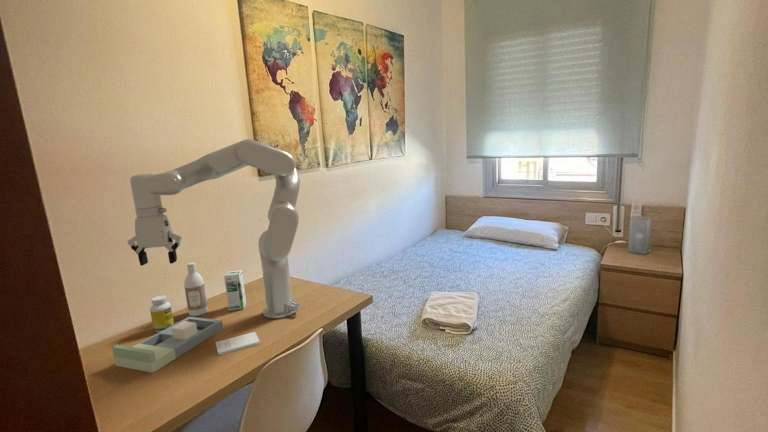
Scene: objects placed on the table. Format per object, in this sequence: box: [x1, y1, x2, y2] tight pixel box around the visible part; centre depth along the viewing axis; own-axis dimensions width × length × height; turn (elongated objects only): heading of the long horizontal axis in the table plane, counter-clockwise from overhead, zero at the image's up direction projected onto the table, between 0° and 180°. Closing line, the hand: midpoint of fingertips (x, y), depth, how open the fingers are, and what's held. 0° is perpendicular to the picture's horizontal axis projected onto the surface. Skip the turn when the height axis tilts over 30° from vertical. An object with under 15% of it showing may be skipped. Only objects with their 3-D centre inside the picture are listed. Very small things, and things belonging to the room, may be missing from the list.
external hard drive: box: [215, 331, 261, 356], centre depth 127 cm, size 2×8×12 cm
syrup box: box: [223, 269, 247, 312], centre depth 156 cm, size 6×6×14 cm
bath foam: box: [183, 262, 209, 317], centre depth 152 cm, size 7×7×20 cm
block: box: [172, 321, 198, 340], centre depth 129 cm, size 5×5×4 cm
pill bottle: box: [149, 295, 175, 333], centre depth 141 cm, size 6×6×12 cm
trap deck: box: [111, 316, 224, 374], centre depth 128 cm, size 15×28×6 cm, turn 160°
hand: (158, 263), depth 131 cm, fingers open, 9 cm apart
